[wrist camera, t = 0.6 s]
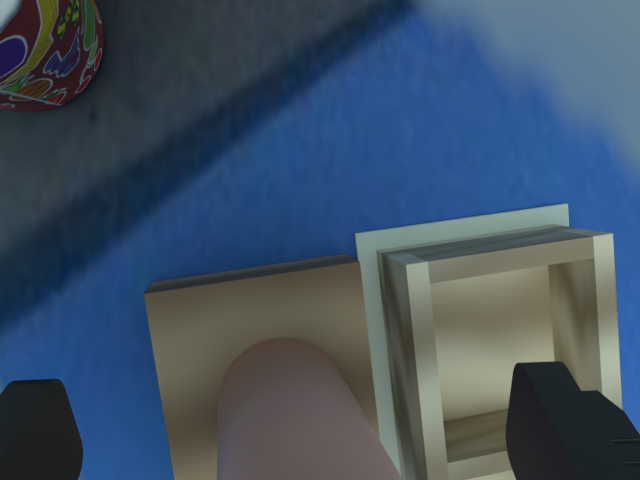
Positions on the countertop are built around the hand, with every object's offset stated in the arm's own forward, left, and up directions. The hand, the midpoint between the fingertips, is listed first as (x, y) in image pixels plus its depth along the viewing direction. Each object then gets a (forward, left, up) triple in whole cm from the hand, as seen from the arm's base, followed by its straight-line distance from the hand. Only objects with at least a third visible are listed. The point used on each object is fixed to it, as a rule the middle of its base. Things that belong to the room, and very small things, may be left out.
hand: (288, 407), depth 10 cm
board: (+7, 0, -19) cm, 20 cm away
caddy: (+11, +12, -19) cm, 25 cm away
